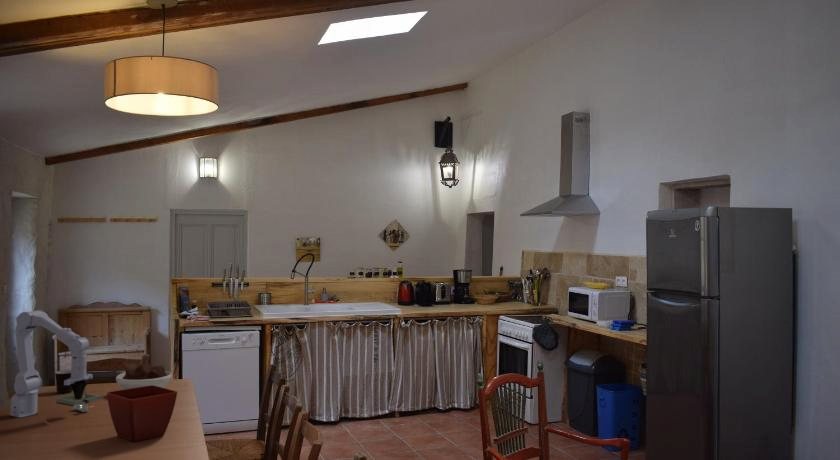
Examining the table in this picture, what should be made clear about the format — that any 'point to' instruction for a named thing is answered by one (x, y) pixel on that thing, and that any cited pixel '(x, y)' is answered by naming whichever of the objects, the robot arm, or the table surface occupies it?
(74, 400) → the wooden block
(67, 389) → the coffee mug
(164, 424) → the plant pot
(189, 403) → the table surface
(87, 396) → the tray
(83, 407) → the crank
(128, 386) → the white bowl of food
